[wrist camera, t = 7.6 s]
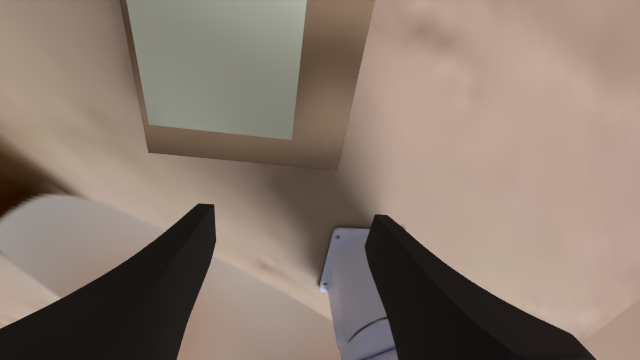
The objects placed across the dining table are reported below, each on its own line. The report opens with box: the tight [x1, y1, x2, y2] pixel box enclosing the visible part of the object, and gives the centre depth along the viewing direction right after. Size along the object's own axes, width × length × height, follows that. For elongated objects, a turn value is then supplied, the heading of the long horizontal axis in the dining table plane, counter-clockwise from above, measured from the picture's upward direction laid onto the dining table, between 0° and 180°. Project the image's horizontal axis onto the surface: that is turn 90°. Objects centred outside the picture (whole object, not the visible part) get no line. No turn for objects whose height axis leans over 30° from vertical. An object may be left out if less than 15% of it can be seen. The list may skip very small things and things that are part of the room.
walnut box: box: [120, 0, 375, 170], centre depth 15 cm, size 12×12×4 cm
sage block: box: [126, 0, 307, 140], centre depth 10 cm, size 5×5×6 cm
